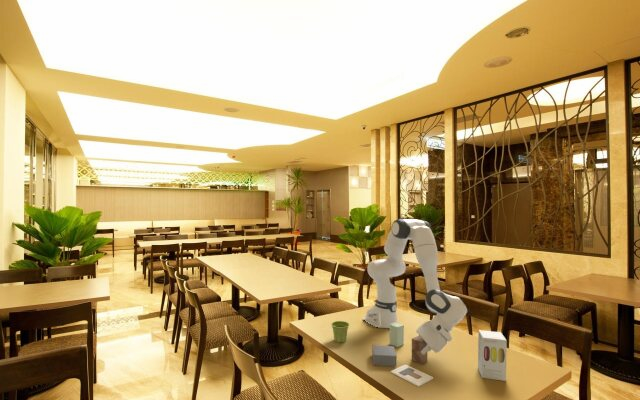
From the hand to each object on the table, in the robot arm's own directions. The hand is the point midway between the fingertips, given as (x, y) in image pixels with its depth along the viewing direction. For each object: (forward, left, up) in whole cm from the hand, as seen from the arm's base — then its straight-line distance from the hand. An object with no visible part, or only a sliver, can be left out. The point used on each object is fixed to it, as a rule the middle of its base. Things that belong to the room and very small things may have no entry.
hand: (418, 348), depth 153 cm
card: (+6, -13, -5) cm, 16 cm away
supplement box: (+26, +15, -6) cm, 31 cm away
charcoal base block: (-10, -12, -6) cm, 17 cm away
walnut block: (0, +1, -5) cm, 5 cm away
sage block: (-18, +7, -5) cm, 20 cm away
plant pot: (-39, -13, -6) cm, 41 cm away
